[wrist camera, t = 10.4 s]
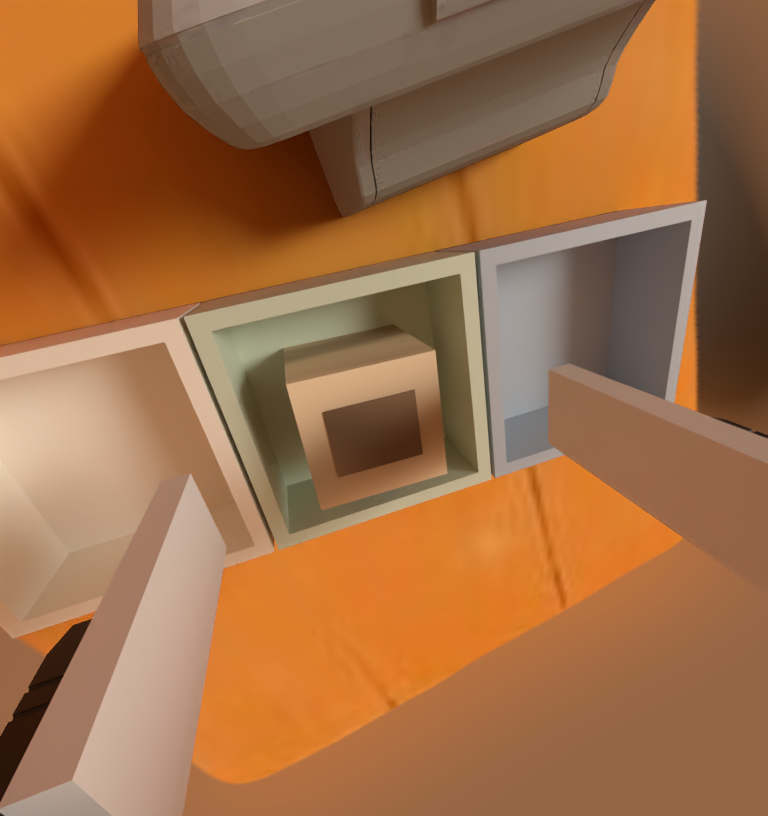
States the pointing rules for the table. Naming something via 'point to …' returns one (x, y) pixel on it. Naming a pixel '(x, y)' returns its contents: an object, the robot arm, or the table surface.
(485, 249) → the box
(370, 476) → the letter cube
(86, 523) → the caddy cream
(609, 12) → the digital clock
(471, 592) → the table surface
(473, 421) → the box
